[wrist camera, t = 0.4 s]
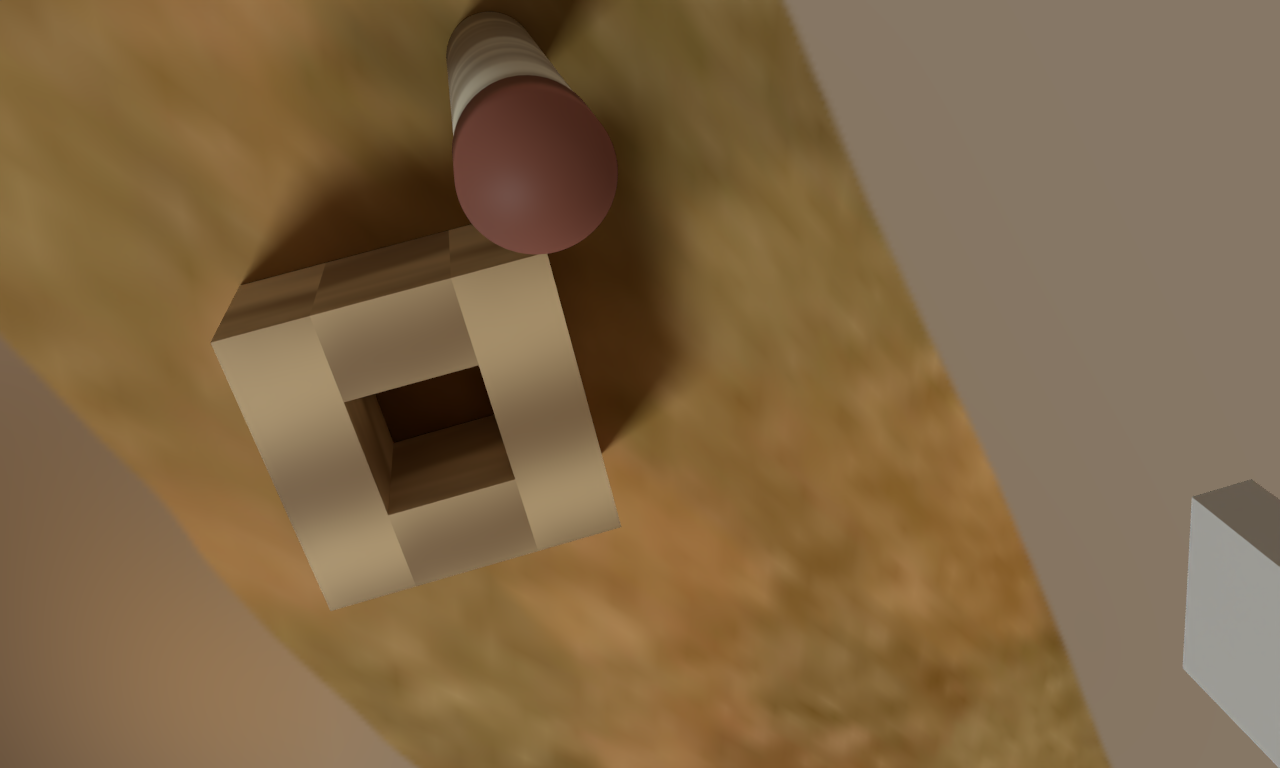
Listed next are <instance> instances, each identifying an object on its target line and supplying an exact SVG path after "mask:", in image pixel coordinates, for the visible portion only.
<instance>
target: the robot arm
mask: <svg viewBox="0 0 1280 768" xmlns="http://www.w3.org/2000/svg"><path fill="white" fill-rule="evenodd" d="M1190 526H1191V527H1190V543H1189V564H1188V581H1187V600H1186V617H1185V636H1184V654H1183V669H1184V670H1185V671H1186V672H1187V673H1188V674H1189V675H1190V676H1191V677H1192V678H1193V679H1194V680H1195V681H1196V682H1197V683H1198V685H1199V686H1200V687H1201V688H1202V689H1203V690H1204V691H1205V692H1206V693H1207V694H1208V695H1209V696H1210V697H1211V698H1212V699H1213V700H1214V701H1215V702H1216V703H1217V704H1218V705H1219V706H1220V707H1221V708H1222V709H1223V710H1224V711H1225V712H1226V713H1227V715H1228V716H1229V717H1230V718H1231V719H1232V720H1233V721H1234V722H1235V723H1236V724H1237V725H1238V726H1239V727H1240V728H1241V729H1242V730H1243V731H1244V732H1245V733H1246V734H1247V735H1248V736H1249V737H1250V738H1251V739H1252V740H1253V741H1254V743H1256V745H1257V746H1258V747H1259V748H1260V749H1261V750H1262V751H1263V752H1264V753H1265V754H1266V755H1267V756H1268V757H1269V758H1270V759H1271V760H1272V761H1273V762H1274V763H1275V764H1276V765H1277V766H1278V767H1279V768H1280V500H1279V499H1278V498H1277V497H1275V496H1274V495H1272V494H1271V493H1269V492H1268V491H1267V490H1266V489H1264V488H1263V487H1261V486H1260V485H1259V484H1257V483H1256V482H1254V481H1253V480H1248V481H1244V482H1241V483H1237V484H1234V485H1231V486H1227V487H1224V488H1221V489H1217V490H1214V491H1210V492H1207V493H1204V494H1200V495H1197V496H1194V497H1192V507H1191V524H1190Z"/></svg>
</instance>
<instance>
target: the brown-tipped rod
mask: <svg viewBox="0 0 1280 768" xmlns="http://www.w3.org/2000/svg"><path fill="white" fill-rule="evenodd" d="M446 59H447V70H448V81H449V92H450V103H451V114H452V126H453V143H452V155H453V168H454V180H455V188H456V192H457V196H458V199H459V202H460V204H461V207H462V209H463V211H464V213H465V214H466V216H467V218H468V219H469V220H470V222H471V223H472V225H473V226H474V227H475V228H476V229H477V230H478V231H479V232H480V233H481V234H482V235H484V236H485V237H486V238H487V239H489V240H490V241H492V242H493V243H495V244H497V245H499V246H501V247H503V248H505V249H508V250H511V251H514V252H518V253H524V254H536V255H538V254H549V253H554V252H558V251H561V250H564V249H567V248H569V247H571V246H573V245H575V244H577V243H579V242H580V241H582V240H583V239H585V238H586V237H587V236H588V235H590V234H591V233H592V232H593V231H594V230H595V229H596V228H597V227H598V226H599V225H600V223H601V222H602V220H603V219H604V218H605V216H606V215H607V213H608V211H609V209H610V207H611V205H612V202H613V199H614V197H615V192H616V188H617V180H618V165H617V159H616V154H615V150H614V147H613V144H612V142H611V140H610V137H609V135H608V134H607V132H606V130H605V129H604V127H603V126H602V124H601V123H600V122H599V120H598V119H597V118H596V117H595V115H594V114H593V113H592V112H591V110H590V109H589V108H588V106H587V105H586V104H585V103H584V102H583V100H582V99H581V98H580V97H579V96H578V95H577V94H576V93H575V92H573V91H572V90H571V89H570V87H569V86H568V85H567V83H566V82H565V81H564V79H563V78H562V77H561V75H560V74H559V73H558V72H557V70H556V69H555V68H554V66H553V65H552V64H551V62H550V61H549V60H548V58H547V57H546V56H545V55H544V53H543V52H542V51H541V49H540V48H539V47H538V45H537V44H536V43H535V41H534V40H533V39H532V38H531V36H530V35H529V34H528V32H527V31H526V30H525V29H524V27H523V26H522V25H521V24H520V23H519V22H517V21H516V20H515V19H513V18H511V17H509V16H507V15H505V14H502V13H498V12H481V13H477V14H474V15H472V16H470V17H468V18H466V19H465V20H463V21H462V22H461V23H460V24H459V25H458V26H457V27H456V28H455V30H454V31H453V33H452V35H451V37H450V39H449V42H448V46H447V53H446Z"/></svg>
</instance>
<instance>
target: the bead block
mask: <svg viewBox="0 0 1280 768" xmlns="http://www.w3.org/2000/svg"><path fill="white" fill-rule="evenodd" d="M211 345H212V347H213V349H214V351H215V354H216V356H217V358H218V360H219V363H220V365H221V367H222V369H223V372H224V374H225V376H226V378H227V380H228V383H229V385H230V387H231V389H232V392H233V394H234V396H235V398H236V401H237V403H238V405H239V407H240V410H241V412H242V414H243V416H244V419H245V421H246V423H247V425H248V427H249V430H250V432H251V434H252V436H253V439H254V441H255V443H256V445H257V448H258V450H259V452H260V454H261V457H262V459H263V461H264V463H265V465H266V468H267V470H268V472H269V474H270V477H271V479H272V481H273V483H274V486H275V488H276V490H277V492H278V495H279V497H280V499H281V501H282V504H283V506H284V508H285V510H286V512H287V515H288V517H289V519H290V521H291V524H292V526H293V528H294V530H295V533H296V535H297V537H298V539H299V542H300V544H301V546H302V548H303V551H304V553H305V555H306V557H307V559H308V562H309V564H310V566H311V568H312V571H313V573H314V575H315V577H316V580H317V582H318V584H319V586H320V589H321V591H322V593H323V595H324V597H325V600H326V602H327V604H328V606H329V609H330V611H332V610H336V609H339V608H343V607H346V606H350V605H353V604H357V603H360V602H363V601H367V600H370V599H374V598H377V597H381V596H384V595H388V594H391V593H395V592H398V591H401V590H405V589H408V588H412V587H415V586H419V585H422V584H426V583H429V582H433V581H436V580H440V579H443V578H446V577H450V576H453V575H457V574H460V573H464V572H467V571H471V570H474V569H478V568H481V567H484V566H488V565H491V564H495V563H498V562H502V561H505V560H509V559H512V558H516V557H519V556H523V555H526V554H529V553H533V552H536V551H540V550H543V549H547V548H550V547H554V546H557V545H561V544H564V543H567V542H571V541H574V540H578V539H581V538H585V537H588V536H592V535H595V534H599V533H602V532H605V531H609V530H612V529H616V528H619V527H621V524H620V521H619V517H618V513H617V509H616V506H615V502H614V498H613V495H612V491H611V487H610V484H609V480H608V476H607V473H606V469H605V465H604V461H603V458H602V454H601V450H600V447H599V443H598V439H597V436H596V432H595V428H594V425H593V421H592V417H591V414H590V410H589V406H588V402H587V399H586V395H585V391H584V388H583V384H582V380H581V377H580V373H579V369H578V366H577V362H576V358H575V354H574V351H573V347H572V343H571V340H570V336H569V332H568V329H567V325H566V321H565V318H564V314H563V310H562V307H561V303H560V299H559V295H558V292H557V288H556V284H555V281H554V277H553V273H552V270H551V266H550V262H549V259H548V255H547V254H538V255H536V254H524V253H518V252H514V251H511V250H508V249H505V248H503V247H501V246H499V245H497V244H495V243H493V242H492V241H490V240H489V239H487V238H486V237H485V236H484V235H482V234H481V233H480V232H479V231H478V230H477V229H476V228H475V227H474V226H473V225H472V224H471V225H467V226H463V227H459V228H456V229H452V230H448V231H444V232H440V233H437V234H433V235H429V236H425V237H422V238H418V239H414V240H410V241H406V242H403V243H399V244H395V245H391V246H388V247H384V248H380V249H376V250H372V251H369V252H365V253H361V254H357V255H354V256H350V257H346V258H342V259H339V260H335V261H331V262H327V263H323V264H320V265H316V266H312V267H308V268H305V269H301V270H297V271H293V272H289V273H286V274H282V275H278V276H274V277H271V278H267V279H263V280H259V281H256V282H252V283H248V284H244V285H240V286H239V288H238V290H237V292H236V294H235V296H234V298H233V300H232V302H231V304H230V306H229V308H228V310H227V312H226V313H225V315H224V317H223V319H222V321H221V323H220V325H219V327H218V329H217V331H216V333H215V335H214V337H213V339H212V341H211ZM478 365H479V368H480V371H481V374H482V377H483V380H484V383H485V386H486V389H487V393H488V396H489V399H490V402H491V405H492V408H493V411H494V414H495V415H492V416H488V417H485V418H481V419H478V420H474V421H471V422H467V423H463V424H460V425H456V426H453V427H449V428H445V429H442V430H438V431H435V432H431V433H427V434H424V435H420V436H417V437H413V438H410V439H406V440H402V441H399V442H395V443H393V440H392V438H391V435H390V432H389V430H388V427H387V424H386V422H385V419H384V416H383V414H382V411H381V408H380V406H379V403H378V400H377V398H376V395H375V394H376V393H380V392H383V391H387V390H391V389H394V388H398V387H401V386H405V385H409V384H412V383H416V382H420V381H423V380H427V379H431V378H434V377H438V376H441V375H445V374H449V373H452V372H456V371H460V370H463V369H467V368H471V367H474V366H478Z"/></svg>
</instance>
